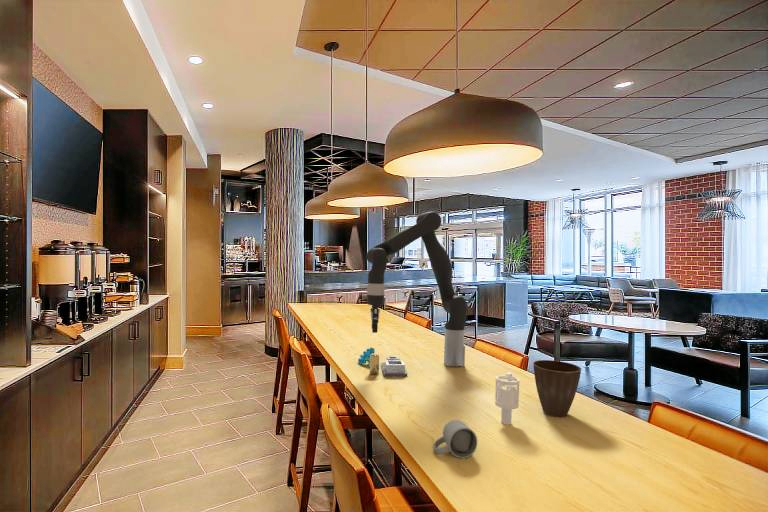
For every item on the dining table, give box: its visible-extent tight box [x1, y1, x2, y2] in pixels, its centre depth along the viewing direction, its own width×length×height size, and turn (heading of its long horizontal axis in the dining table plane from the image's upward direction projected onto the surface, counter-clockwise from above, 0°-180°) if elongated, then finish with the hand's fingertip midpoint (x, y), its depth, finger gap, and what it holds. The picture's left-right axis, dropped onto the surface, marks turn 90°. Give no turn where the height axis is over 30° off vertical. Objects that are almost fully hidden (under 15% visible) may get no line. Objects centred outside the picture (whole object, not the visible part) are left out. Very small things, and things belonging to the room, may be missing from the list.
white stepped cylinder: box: [494, 371, 520, 426], centre depth 130 cm, size 7×7×15 cm
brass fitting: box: [369, 353, 380, 376], centre depth 180 cm, size 4×4×8 cm
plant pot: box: [532, 359, 582, 418], centre depth 139 cm, size 15×15×16 cm
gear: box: [357, 347, 376, 366], centre depth 196 cm, size 11×6×10 cm
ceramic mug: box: [432, 419, 478, 459], centre depth 110 cm, size 11×8×8 cm
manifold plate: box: [380, 355, 408, 377], centre depth 186 cm, size 10×18×5 cm, turn 4°
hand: (374, 330), depth 181 cm, fingers open, 8 cm apart
